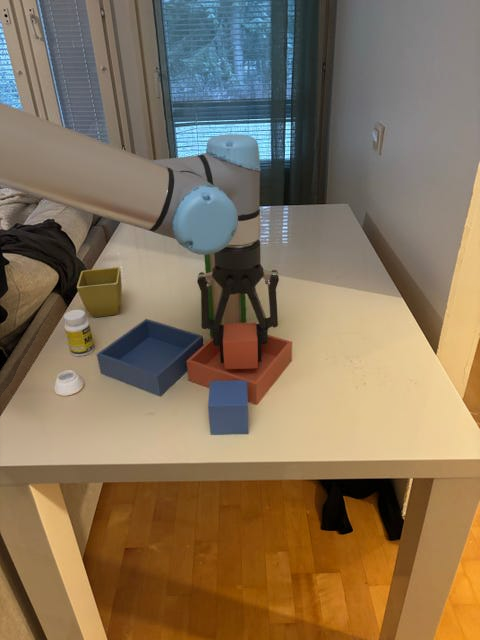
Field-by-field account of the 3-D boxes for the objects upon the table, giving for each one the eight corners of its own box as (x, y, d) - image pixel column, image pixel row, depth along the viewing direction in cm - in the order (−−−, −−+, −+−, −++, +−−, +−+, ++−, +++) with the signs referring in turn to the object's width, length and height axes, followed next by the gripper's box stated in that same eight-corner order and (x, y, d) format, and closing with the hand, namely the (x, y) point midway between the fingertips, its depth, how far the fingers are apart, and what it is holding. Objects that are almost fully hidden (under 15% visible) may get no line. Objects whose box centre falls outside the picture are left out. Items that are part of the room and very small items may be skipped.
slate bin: (100, 373, 88) (96, 354, 86) (148, 336, 98) (146, 318, 96) (160, 396, 82) (157, 376, 79) (204, 354, 92) (203, 335, 90)
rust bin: (188, 380, 85) (186, 360, 83) (228, 342, 96) (227, 323, 93) (256, 405, 79) (256, 384, 77) (291, 361, 89) (292, 341, 87)
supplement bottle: (91, 356, 93) (82, 320, 88) (67, 357, 93) (57, 321, 88) (97, 343, 97) (89, 308, 92) (75, 343, 97) (66, 308, 93)
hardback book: (246, 339, 96) (243, 228, 84) (210, 341, 96) (202, 230, 84) (242, 299, 111) (239, 199, 99) (211, 300, 111) (204, 201, 99)
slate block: (210, 434, 73) (208, 406, 70) (212, 409, 78) (210, 381, 75) (248, 434, 73) (247, 405, 70) (247, 408, 78) (247, 380, 75)
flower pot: (84, 323, 104) (75, 287, 99) (89, 304, 111) (81, 270, 107) (124, 319, 105) (117, 283, 100) (126, 300, 112) (120, 266, 108)
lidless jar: (84, 393, 83) (83, 377, 87) (81, 380, 81) (80, 364, 85) (55, 400, 82) (55, 383, 86) (51, 387, 80) (51, 370, 84)
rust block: (224, 369, 83) (222, 341, 80) (225, 350, 89) (223, 323, 85) (257, 368, 83) (257, 340, 80) (256, 349, 88) (256, 322, 85)
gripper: (293, 229, 77) (290, 345, 89) (179, 233, 77) (191, 347, 89) (299, 246, 71) (294, 368, 83) (174, 250, 71) (187, 371, 83)
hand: (241, 357), depth 86 cm, fingers closed on rust block, 6 cm apart
